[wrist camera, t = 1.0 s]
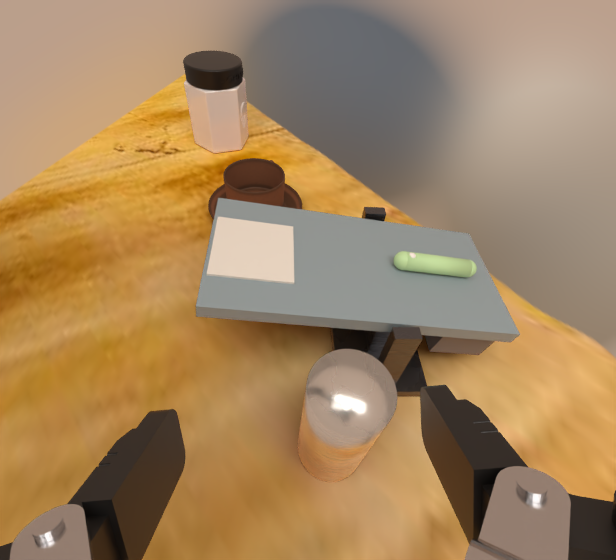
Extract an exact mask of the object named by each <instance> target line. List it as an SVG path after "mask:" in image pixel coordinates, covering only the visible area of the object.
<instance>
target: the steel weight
mask: <svg viewBox="0 0 616 560" xmlns="http://www.w3.org/2000/svg"><path fill="white" fill-rule="evenodd" d="M396 405H397V390H396V386H395V383H394V380H393V378H392V376H391V374H390V373H389V371H388V370H387V368H386V367H385V366H384V365H383V364H382V363H381V362H380V361H379V360H377V359H376V358H375V357H373V356H371V355H369V354H367V353H365V352H362V351H359V350H354V349H339V350H335V351H332V352H329V353H327V354H325V355H324V356H322V357H321V358H320V359H319V360H318V361H317V362H316V363H315V364H314V365H313V367H312V369H311V370H310V373H309V375H308V379H307V385H306V391H305V398H304V404H303V411H302V417H301V424H300V430H299V437H298V454H299V457H300V460H301V462H302V464H303V466H304V467H305V469H306V470H307V471H308V472H309V473H310V474H311V475H312V476H314V477H315V478H317V479H319V480H322V481H326V482H337V481H341V480H343V479H345V478H347V477H348V476H350V475H351V474H352V473H353V472H354V471H355V469H356V468H357V467H358V465H359V464H360V462H361V461H362V460H363V458H364V457H365V455H366V454H367V452H368V451H369V450H370V448H371V447H372V445H373V444H374V443H375V441H376V440H377V438H378V437H379V436H380V434H381V433H382V431H383V430H384V428H385V427H386V426H387V424H388V423H389V421H390V420H391V418H392V416H393V415H394V412H395V410H396Z"/></svg>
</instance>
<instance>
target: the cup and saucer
mask: <svg viewBox="0 0 616 560" xmlns="http://www.w3.org/2000/svg"><path fill="white" fill-rule="evenodd" d="M224 183H225V184H224V185H222V186H221V187H219V188H218V189H217V190H216V191H215V192H214V193H213V194H212V196H211V198H210V200H209V212H210V214H211V216H212V218H213V220H214V216H215V211H216V207H217V202H218V198H224V199H231V200H238V201H245V202H252V203H259V204H266V205H273V206H280V207H287V208H294V209H302V202H301V199H300V196H299V195H298V193H297V192H296V191H295V190H294V189H293V188H291V187H290V186H289V185H287V184H285V174H284V171H283V169H282V168H281V167H280V166H279V165H277V164H276V163H274V162H273V161H272V160H270V161H268V160H264V159H256V158H251V159H243V160H239V161H236V162H234V163H232V164H231V165H229V166H228V167H227V168H226V169H225V171H224Z"/></svg>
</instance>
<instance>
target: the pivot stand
mask: <svg viewBox="0 0 616 560" xmlns="http://www.w3.org/2000/svg"><path fill="white" fill-rule="evenodd" d="M385 216H386V212H385V209H384V208H377V207H364V211H363V215H362V218H363V219H370V220H377V221H384V219H385ZM330 329H331V339H332V349H333V351H335V350H339V349H354V350H359V351H362V352H365V353H367V354H369V355H371V356H373V357H375V358H376V359H377V360H379V361H380V362H381V363H382V364H383V365H384V366H385V367H386V368H387V370H388V371H389V373H390V374H391V376H392V378H393V380H394V383H395V386H396V390H397V396H420V390H421V387H427V384H426V381H425V377H424V373H423V370H422V366H421V362H420V359H419V355H418V351H417V348H418V346H419V344H420V343H421V341H422V339H423V338H422V335H421V331H420V328H419V327H392V329H391V332H379V331H367V330H355V329H343V328H331V327H330Z"/></svg>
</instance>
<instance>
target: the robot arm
mask: <svg viewBox="0 0 616 560" xmlns="http://www.w3.org/2000/svg"><path fill="white" fill-rule="evenodd" d="M420 400H421V429H422V437H423V442H424V445H425V448H426V451H427V453H428V455H429V458H430V460H431V462H432V464H433V466H434V468H435V471H436V473H437V475H438V477H439V479H440V481H441V484H442V486H443V488H444V490H445V492H446V494H447V496H448V499H449V501H450V503H451V505H452V507H453V509H454V512H455V514H456V516H457V518H458V520H459V522H460V525H461V527H462V529H463V531H464V533H465V535H466V537H467V540H468V542H469V544H470V545H469V547H468V550H467V554H466V557H465V560H616V491H615V493H614V501H613V502H610V501H604V500H598V499H592V498H586V497H580V496H576V495H572V494H568V493H567V491H566V490H565V489H564V487H563V486H562V485H561V484H560V483H559V482H557V481H556V480H555V479H553V478H552V477H550V476H549V475H547V474H545V473H543V472H541V471H538V470H536V469H532V468H529V467H528V466H527V465H526V464H525V463H524V462H523V460H522V459H521V458H520V457H519V455H518V454H517V453H516V452H515V450H514V449H513V448H512V447H511V446H510V444H509V443H508V442H507V441H506V439H505V438H504V437H503V436H502V434H501V433H500V432H498V430H497V428H496V427H495V426H494V425H493V423H491V422H490V420H489V418H488V417H487V416H486V415H485V414H484V412H483V411H482V410H481V409H480V408H479V407H477V406H476V405H474V404H472V403H471V402H469V401H468V400H457V399H456V398H455V397H454V395H453V394H452V393H451V391H450V390H449V388H448V387H447V386H446V385H438V386H427V387H421V390H420ZM184 464H185V448H184V443H183V438H182V434H181V429H180V424H179V420H178V415H177V412H176V411H175V410H174V409H170V410H159V411H150V412H149V413H148V414H147V415H146V416H145V418H144V419H143V420H142V422H141V423H140V424H139V426H138V427H137V428H136V429H132V430H130V431H129V432H128V433H127V434H125V435H124V436H123V437H121V438H120V439H119V440H117V442H116V443H115V444H114V446H113V447H112V448H111V449H110V451H109V452H108V453H107V456H105V457H104V458H103V459H102V461H101V462H100V463H99V467H96V468H95V470H94V471H93V472H92V473H91V475H90V476H89V477H88V478H87V480H86V481H85V482H84V484H83V485H82V486H81V487H80V489H79V490H78V491H77V492H76V494H75V495H74V496H73V498H72V499H71V500H70V501H69V503H68V504H67V505H62V506H59V507H56V508H53V509H51V510H49V511H47V512H45V513H43V514H42V515H40V516H38V517H37V518H36V519H34V520H33V521H31V522H30V523H29V524H28V525H27V526H26V527H25V528H24V529H23V530H22V531H21V532H20V533H19V534H18V535H17V537H16V538H15V540H14V542H12V543H9V544H6V545H3V546H0V560H142V558H143V556H144V554H145V552H146V549H147V547H148V545H149V543H150V541H151V539H152V536H153V534H154V532H155V530H156V528H157V526H158V523H159V521H160V519H161V517H162V515H163V513H164V510H165V508H166V506H167V504H168V502H169V500H170V497H171V495H172V493H173V491H174V489H175V487H176V484H177V482H178V480H179V478H180V476H181V474H182V471H183V468H184Z"/></svg>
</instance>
